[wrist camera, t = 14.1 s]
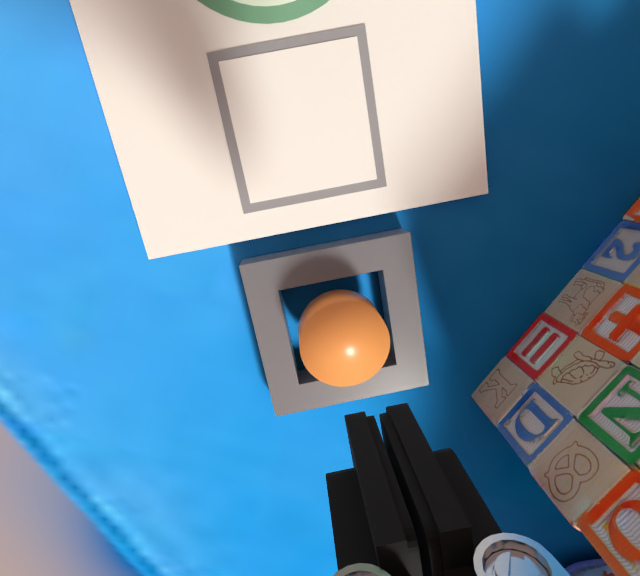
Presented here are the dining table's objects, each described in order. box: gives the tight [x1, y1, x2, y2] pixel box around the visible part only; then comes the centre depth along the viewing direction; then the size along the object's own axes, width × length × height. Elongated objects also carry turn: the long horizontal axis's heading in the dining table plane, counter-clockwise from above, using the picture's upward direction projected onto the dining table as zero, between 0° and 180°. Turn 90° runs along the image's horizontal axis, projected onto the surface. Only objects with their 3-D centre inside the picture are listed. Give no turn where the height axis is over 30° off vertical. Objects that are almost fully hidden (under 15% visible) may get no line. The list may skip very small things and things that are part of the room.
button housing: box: [239, 228, 429, 416], centre depth 21 cm, size 8×8×2 cm
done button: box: [298, 289, 390, 387], centre depth 19 cm, size 4×4×2 cm
